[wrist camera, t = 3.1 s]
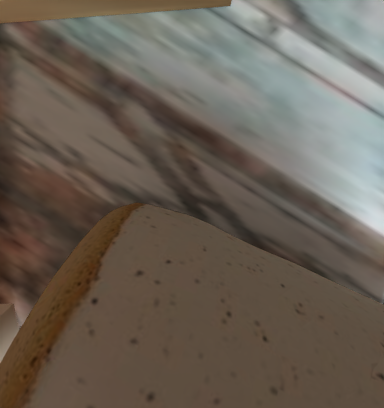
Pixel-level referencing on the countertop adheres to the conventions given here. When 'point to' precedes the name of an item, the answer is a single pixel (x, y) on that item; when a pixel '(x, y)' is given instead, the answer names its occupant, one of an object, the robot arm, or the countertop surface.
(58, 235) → the countertop surface
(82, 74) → the countertop surface
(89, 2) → the wooden block with ridges
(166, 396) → the speckled stoneware cup
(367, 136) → the countertop surface
